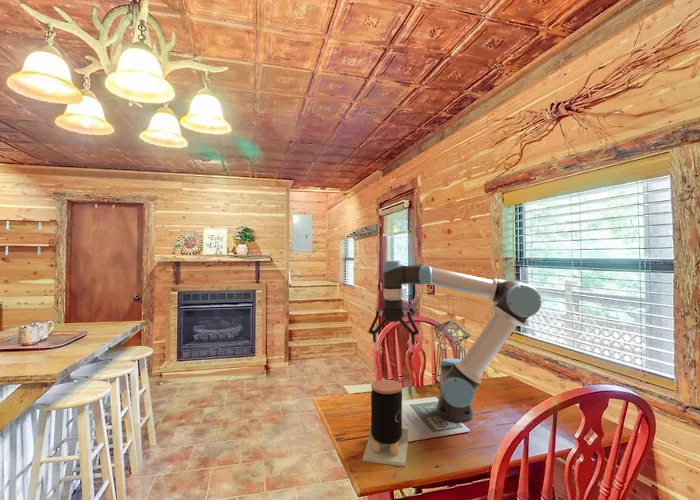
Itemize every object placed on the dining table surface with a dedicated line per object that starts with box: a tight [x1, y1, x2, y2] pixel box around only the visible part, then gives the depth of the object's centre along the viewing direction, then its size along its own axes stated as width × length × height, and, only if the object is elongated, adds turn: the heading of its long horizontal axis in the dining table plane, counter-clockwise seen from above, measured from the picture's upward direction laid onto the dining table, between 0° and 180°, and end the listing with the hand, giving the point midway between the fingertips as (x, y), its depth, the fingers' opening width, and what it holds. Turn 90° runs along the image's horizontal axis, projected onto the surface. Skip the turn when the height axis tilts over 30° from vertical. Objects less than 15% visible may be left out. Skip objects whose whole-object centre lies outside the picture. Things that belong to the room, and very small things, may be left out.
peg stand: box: [362, 422, 409, 467], centre depth 123 cm, size 14×14×6 cm
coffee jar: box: [370, 379, 403, 444], centre depth 123 cm, size 11×11×18 cm
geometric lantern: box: [431, 319, 472, 389], centre depth 177 cm, size 16×16×35 cm
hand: (393, 350), depth 144 cm, fingers open, 13 cm apart
